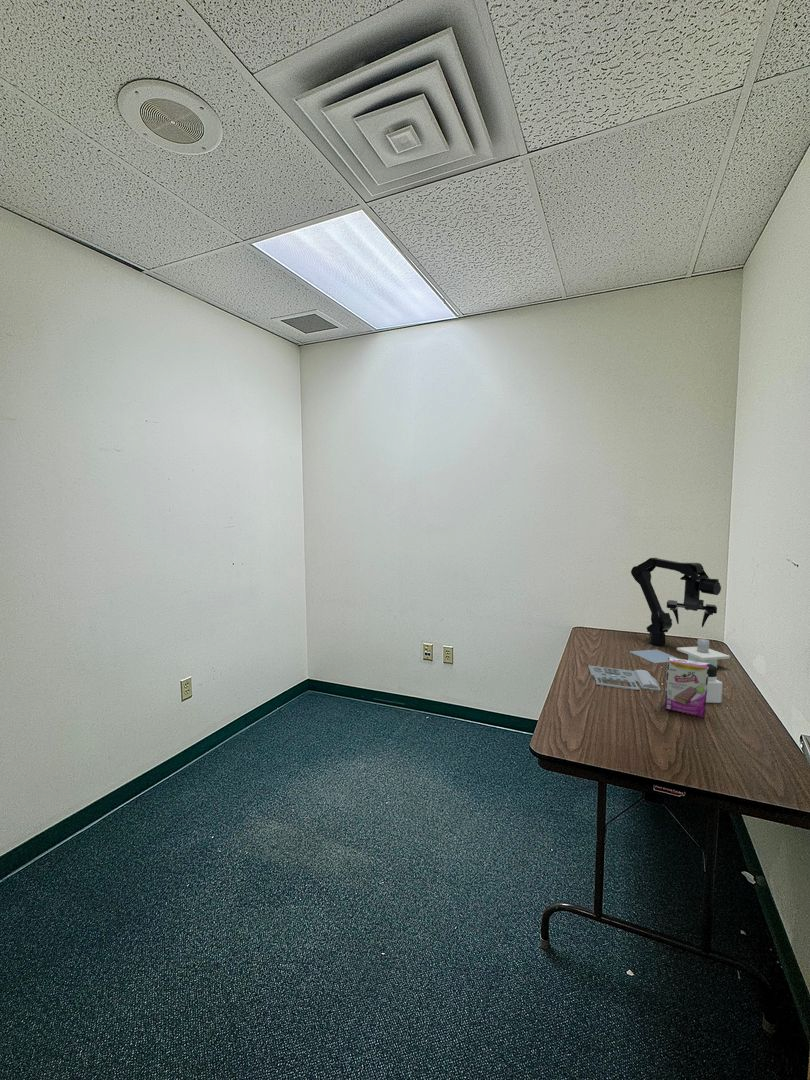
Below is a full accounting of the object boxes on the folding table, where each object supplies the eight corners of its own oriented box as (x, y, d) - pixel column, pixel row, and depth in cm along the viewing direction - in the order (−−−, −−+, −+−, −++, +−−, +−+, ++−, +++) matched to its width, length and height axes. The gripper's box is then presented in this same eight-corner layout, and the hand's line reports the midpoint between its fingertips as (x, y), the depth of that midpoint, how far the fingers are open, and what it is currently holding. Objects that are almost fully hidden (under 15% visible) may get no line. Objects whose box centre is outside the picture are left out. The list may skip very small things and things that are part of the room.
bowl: (682, 662, 189) (682, 650, 189) (701, 661, 192) (702, 649, 191) (702, 671, 180) (703, 658, 179) (722, 669, 182) (723, 657, 181)
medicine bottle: (721, 703, 150) (724, 668, 149) (700, 702, 150) (702, 668, 149) (707, 694, 157) (710, 661, 156) (687, 693, 157) (689, 660, 156)
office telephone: (652, 669, 176) (665, 688, 156) (651, 676, 176) (664, 696, 157) (588, 662, 182) (593, 679, 163) (588, 668, 183) (593, 686, 164)
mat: (628, 652, 202) (628, 651, 202) (657, 650, 205) (657, 649, 205) (653, 664, 187) (653, 662, 187) (684, 661, 190) (684, 660, 190)
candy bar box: (664, 710, 144) (667, 660, 143) (664, 704, 148) (667, 656, 147) (705, 719, 139) (709, 667, 137) (704, 712, 143) (708, 662, 142)
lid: (676, 650, 190) (677, 636, 190) (702, 648, 193) (703, 634, 192) (703, 660, 177) (704, 645, 177) (729, 658, 180) (730, 643, 180)
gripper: (667, 591, 197) (665, 626, 198) (718, 596, 187) (716, 633, 188) (668, 587, 206) (666, 621, 207) (717, 592, 196) (714, 627, 197)
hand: (689, 625), depth 200 cm, fingers open, 9 cm apart
